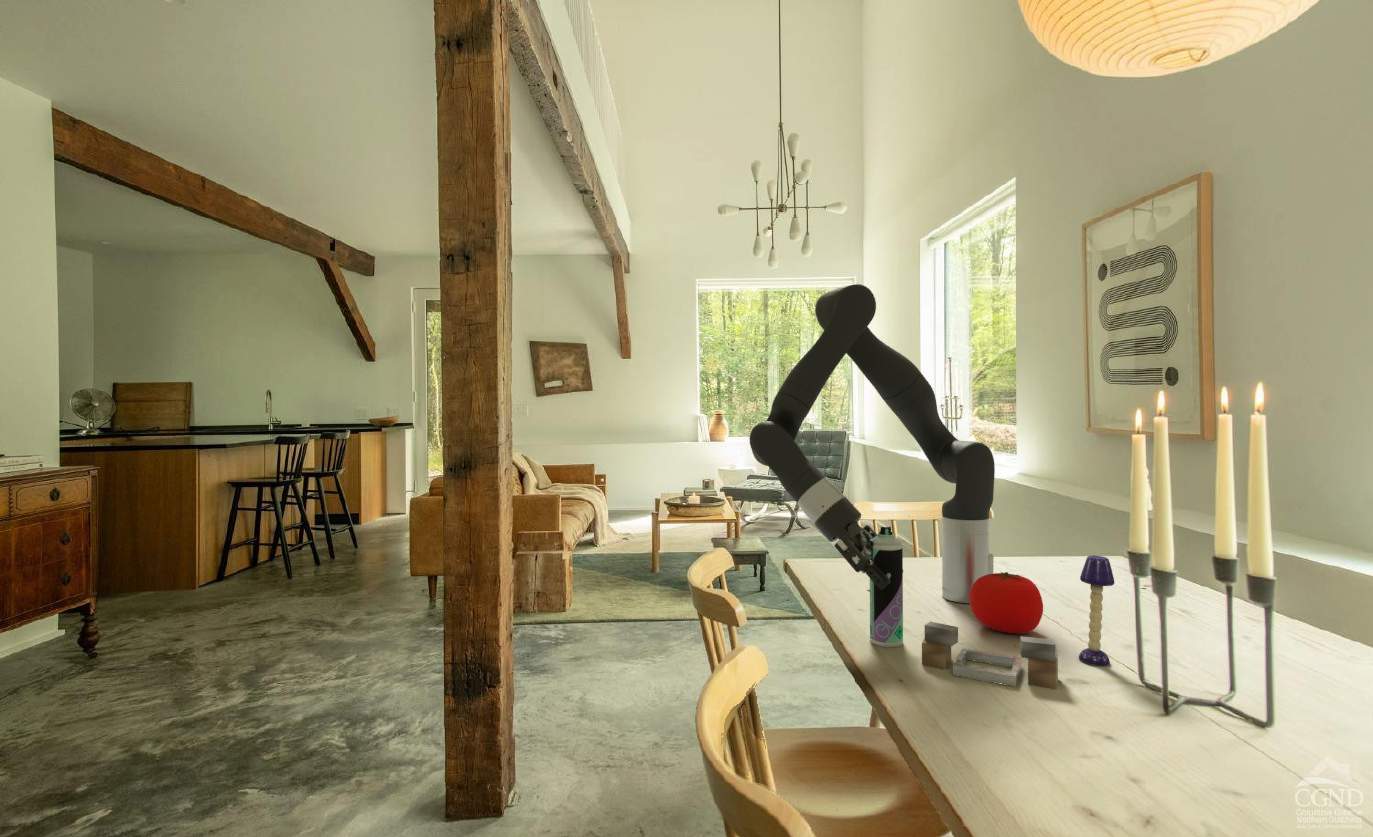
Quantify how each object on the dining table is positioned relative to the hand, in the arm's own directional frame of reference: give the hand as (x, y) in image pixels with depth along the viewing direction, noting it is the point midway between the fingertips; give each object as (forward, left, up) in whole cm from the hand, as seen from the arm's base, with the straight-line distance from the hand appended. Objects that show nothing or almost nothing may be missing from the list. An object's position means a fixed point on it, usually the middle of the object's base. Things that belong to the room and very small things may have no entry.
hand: (893, 580), depth 118 cm
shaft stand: (-7, +15, -11) cm, 20 cm away
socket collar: (-7, +15, -11) cm, 20 cm away
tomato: (-23, -1, -11) cm, 26 cm away
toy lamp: (-26, +16, -11) cm, 33 cm away
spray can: (+1, -1, -11) cm, 11 cm away
